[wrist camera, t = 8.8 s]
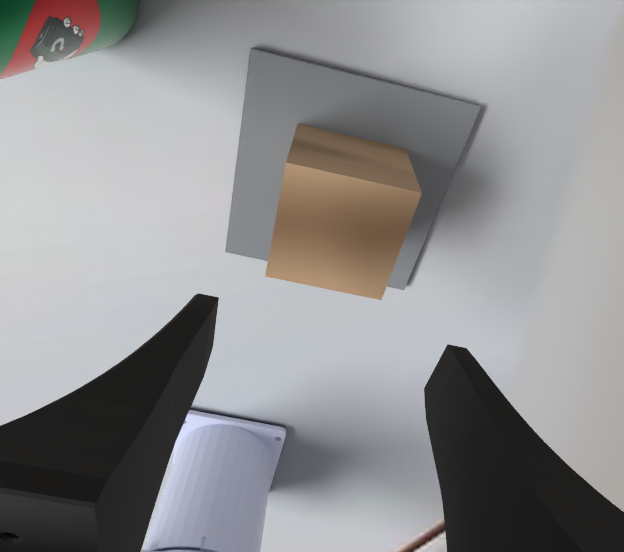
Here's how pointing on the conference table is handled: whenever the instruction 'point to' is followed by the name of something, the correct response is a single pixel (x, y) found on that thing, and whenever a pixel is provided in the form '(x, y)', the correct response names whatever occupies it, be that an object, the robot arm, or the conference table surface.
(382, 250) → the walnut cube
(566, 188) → the conference table surface
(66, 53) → the soda can
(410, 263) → the pad
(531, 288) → the conference table surface
